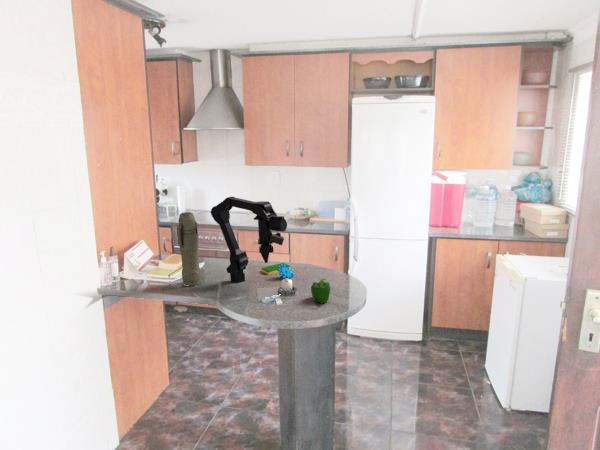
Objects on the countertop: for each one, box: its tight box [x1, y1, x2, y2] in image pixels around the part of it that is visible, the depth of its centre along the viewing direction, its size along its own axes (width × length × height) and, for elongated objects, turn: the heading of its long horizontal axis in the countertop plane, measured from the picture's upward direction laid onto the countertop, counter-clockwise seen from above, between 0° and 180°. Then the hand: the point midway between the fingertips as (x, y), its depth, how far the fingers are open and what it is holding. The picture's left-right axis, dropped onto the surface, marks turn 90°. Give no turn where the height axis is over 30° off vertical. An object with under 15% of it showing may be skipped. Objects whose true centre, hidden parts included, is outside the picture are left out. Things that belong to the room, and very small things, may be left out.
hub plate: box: [256, 285, 300, 301], centre depth 190 cm, size 18×14×2 cm
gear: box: [278, 263, 295, 280], centre depth 210 cm, size 11×6×10 cm
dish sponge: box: [261, 262, 291, 276], centre depth 224 cm, size 7×14×2 cm, turn 127°
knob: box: [280, 277, 293, 292], centre depth 190 cm, size 5×5×6 cm
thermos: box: [176, 211, 202, 287], centre depth 204 cm, size 9×12×35 cm
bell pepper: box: [310, 277, 331, 304], centre depth 181 cm, size 8×8×10 cm
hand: (266, 262), depth 196 cm, fingers closed
